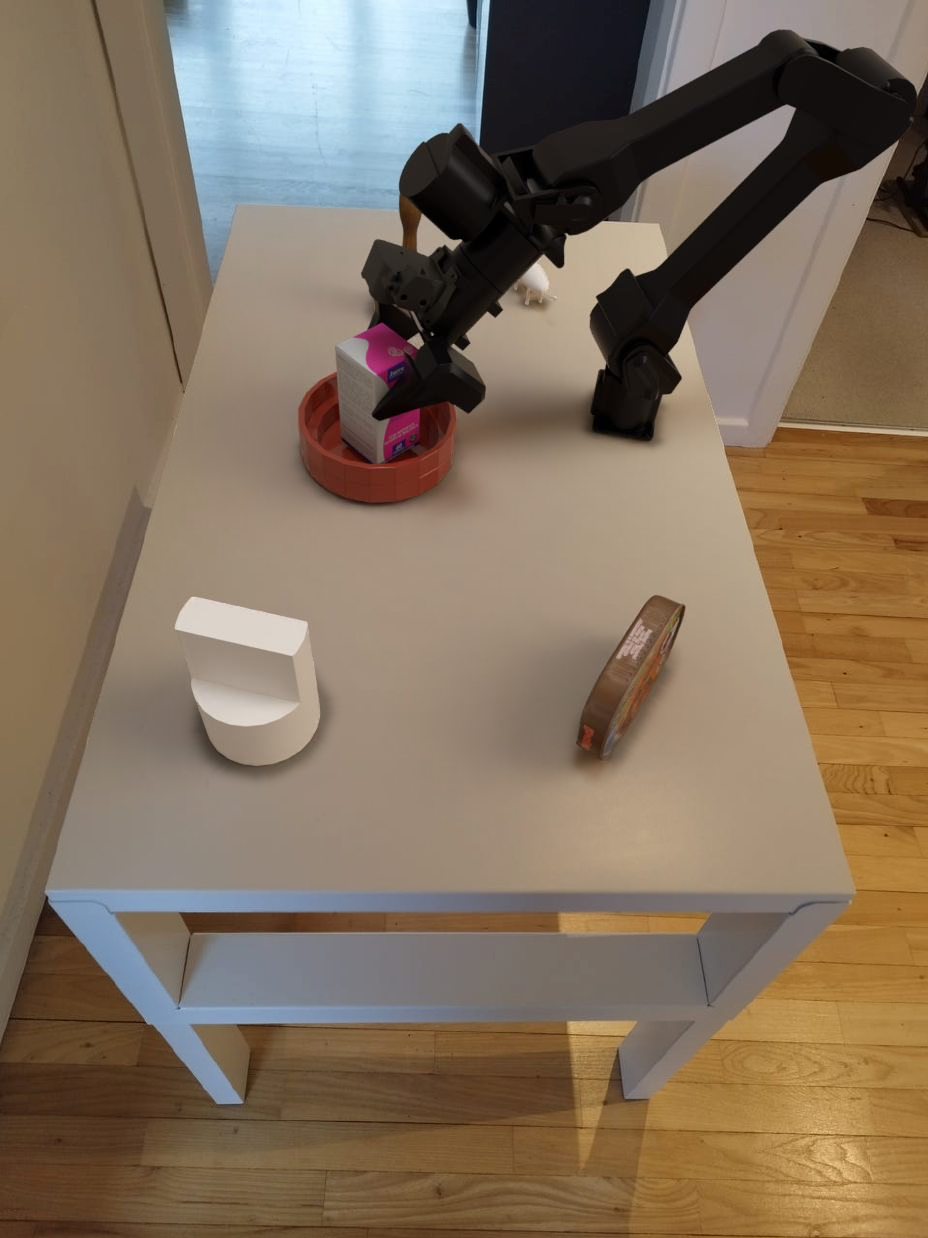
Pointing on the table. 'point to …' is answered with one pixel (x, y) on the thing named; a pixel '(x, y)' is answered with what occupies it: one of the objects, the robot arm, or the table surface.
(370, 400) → the supplement box
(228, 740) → the base with upright slab
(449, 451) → the bowl
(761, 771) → the table surface
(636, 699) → the tin
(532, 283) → the white animal figurine
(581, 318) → the table surface
